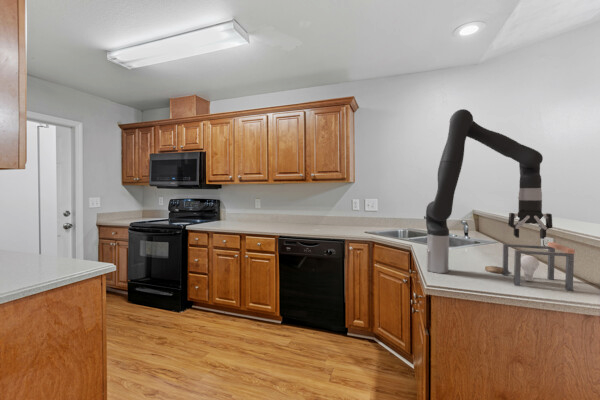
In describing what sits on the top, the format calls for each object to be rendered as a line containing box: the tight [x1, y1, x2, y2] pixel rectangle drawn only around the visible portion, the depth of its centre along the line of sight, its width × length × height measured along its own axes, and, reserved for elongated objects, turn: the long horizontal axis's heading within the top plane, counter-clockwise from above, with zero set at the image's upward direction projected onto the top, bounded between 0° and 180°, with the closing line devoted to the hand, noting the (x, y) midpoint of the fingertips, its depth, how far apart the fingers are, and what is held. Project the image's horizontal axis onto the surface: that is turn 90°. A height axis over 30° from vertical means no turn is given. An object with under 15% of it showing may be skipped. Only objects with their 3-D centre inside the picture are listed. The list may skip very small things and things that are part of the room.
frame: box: [501, 243, 575, 292], centre depth 116 cm, size 18×16×14 cm
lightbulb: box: [521, 254, 540, 282], centre depth 117 cm, size 6×6×11 cm
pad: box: [484, 265, 503, 275], centre depth 132 cm, size 9×9×1 cm
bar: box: [547, 241, 576, 255], centre depth 113 cm, size 2×16×2 cm, turn 159°
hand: (529, 238), depth 116 cm, fingers open, 8 cm apart
